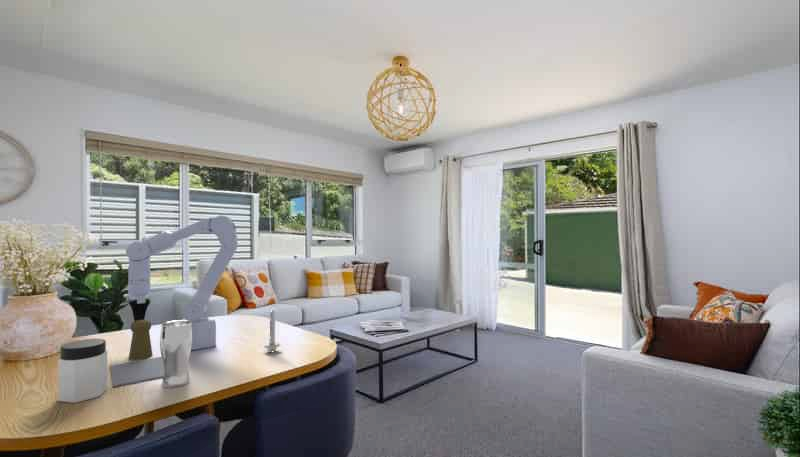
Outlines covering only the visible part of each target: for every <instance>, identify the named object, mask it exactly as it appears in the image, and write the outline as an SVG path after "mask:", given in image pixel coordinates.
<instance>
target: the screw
mask: <svg viewBox="0 0 800 457" xmlns="http://www.w3.org/2000/svg"><path fill="white" fill-rule="evenodd" d="M275 320H276V319H275V311H274V310H271V311H270V313H269V325H268V327H269V328H268V329H269V333H268V334H269V338H268V339H269V341H268V342H266V343H264V345H263V348H265V349H266V352H267V351H268V352H267V353H269V352H272V351H276V350H277V349H278V348H279V347H280V346H281V343H280V342H278V341H276V321H275ZM277 351H278V350H277ZM277 351H276V352H277Z"/></svg>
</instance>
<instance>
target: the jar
mask: <svg viewBox="0 0 800 457" xmlns="http://www.w3.org/2000/svg"><path fill="white" fill-rule="evenodd" d="M106 343H107V341H106V339H103V338H85V339H78V340H74V341H70V342H66V343H64V344H62V345H61V346H60V350H59V351H60V354H59V355H60V357H59V359H58V360H57V401H58V402H59V403H60V402H62V403H71V404H77V403H79V402H80V403H81V402H84V401H88V400H92V399H95V398H100V397H101V395H102V394H104V392H105V391H106V390H107V389H108V349H106V348H107V344H106Z"/></svg>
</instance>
